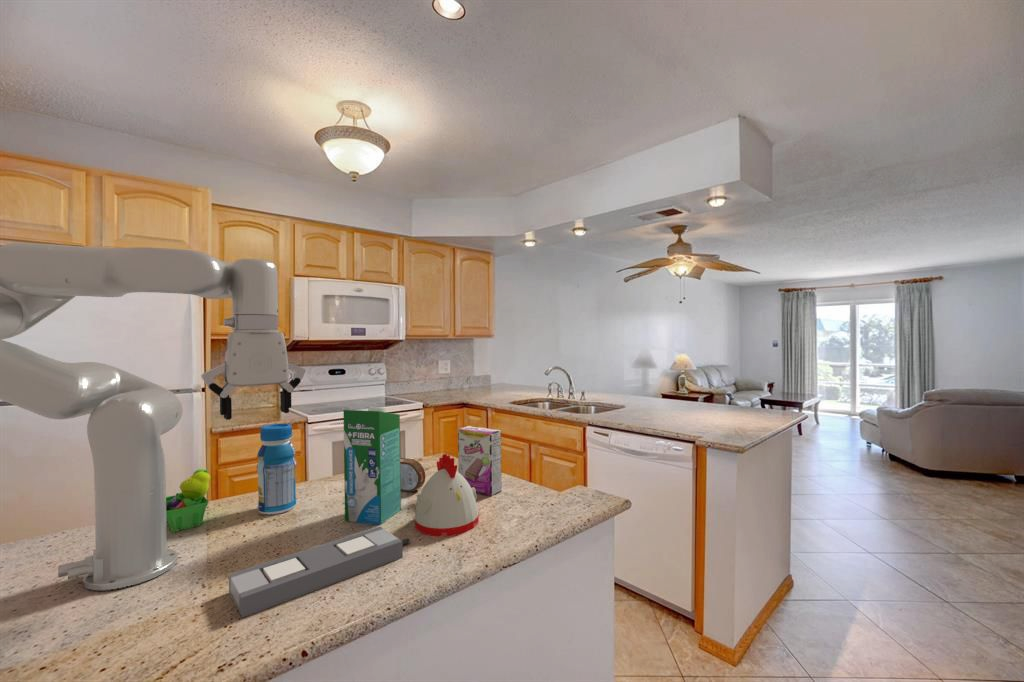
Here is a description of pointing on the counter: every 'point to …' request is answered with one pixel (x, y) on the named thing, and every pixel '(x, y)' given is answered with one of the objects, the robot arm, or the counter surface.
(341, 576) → the power strip
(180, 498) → the fruit basket
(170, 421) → the robot arm
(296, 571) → the outlet button
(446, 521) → the kitchen timer
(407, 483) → the tin
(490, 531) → the counter surface
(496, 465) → the candy bar box
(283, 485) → the beverage bottle
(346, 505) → the milk carton
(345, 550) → the outlet button
